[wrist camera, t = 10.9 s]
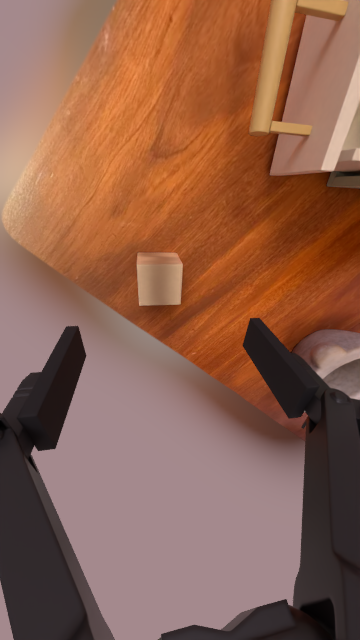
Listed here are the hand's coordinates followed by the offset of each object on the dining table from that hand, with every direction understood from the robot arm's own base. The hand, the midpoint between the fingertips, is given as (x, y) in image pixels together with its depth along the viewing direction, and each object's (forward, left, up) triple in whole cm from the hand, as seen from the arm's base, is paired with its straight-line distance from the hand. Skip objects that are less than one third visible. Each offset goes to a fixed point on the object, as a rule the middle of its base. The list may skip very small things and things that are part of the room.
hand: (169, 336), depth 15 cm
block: (0, 0, -15) cm, 15 cm away
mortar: (+31, -16, -15) cm, 38 cm away
